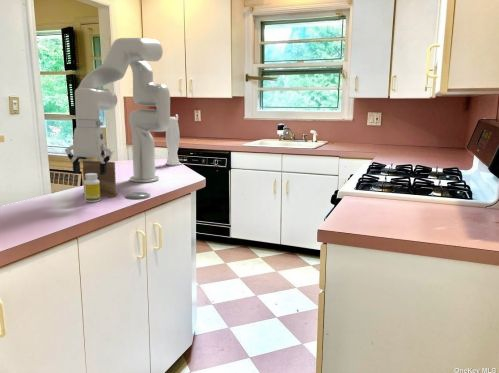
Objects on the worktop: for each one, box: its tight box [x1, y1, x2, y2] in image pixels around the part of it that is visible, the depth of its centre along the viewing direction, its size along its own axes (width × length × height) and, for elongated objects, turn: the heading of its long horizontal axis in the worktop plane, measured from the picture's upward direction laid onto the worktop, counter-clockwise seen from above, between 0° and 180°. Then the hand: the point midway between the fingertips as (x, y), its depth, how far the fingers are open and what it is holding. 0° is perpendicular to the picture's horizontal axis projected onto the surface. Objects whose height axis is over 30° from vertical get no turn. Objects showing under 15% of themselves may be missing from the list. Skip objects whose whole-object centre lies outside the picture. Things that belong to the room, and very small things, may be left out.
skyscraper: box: [165, 114, 183, 167], centre depth 225 cm, size 8×8×28 cm
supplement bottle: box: [83, 173, 101, 203], centre depth 146 cm, size 5×5×10 cm
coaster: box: [125, 191, 151, 200], centre depth 155 cm, size 9×9×1 cm
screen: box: [82, 160, 118, 199], centre depth 153 cm, size 4×12×13 cm, turn 83°
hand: (90, 173), depth 144 cm, fingers open, 9 cm apart
